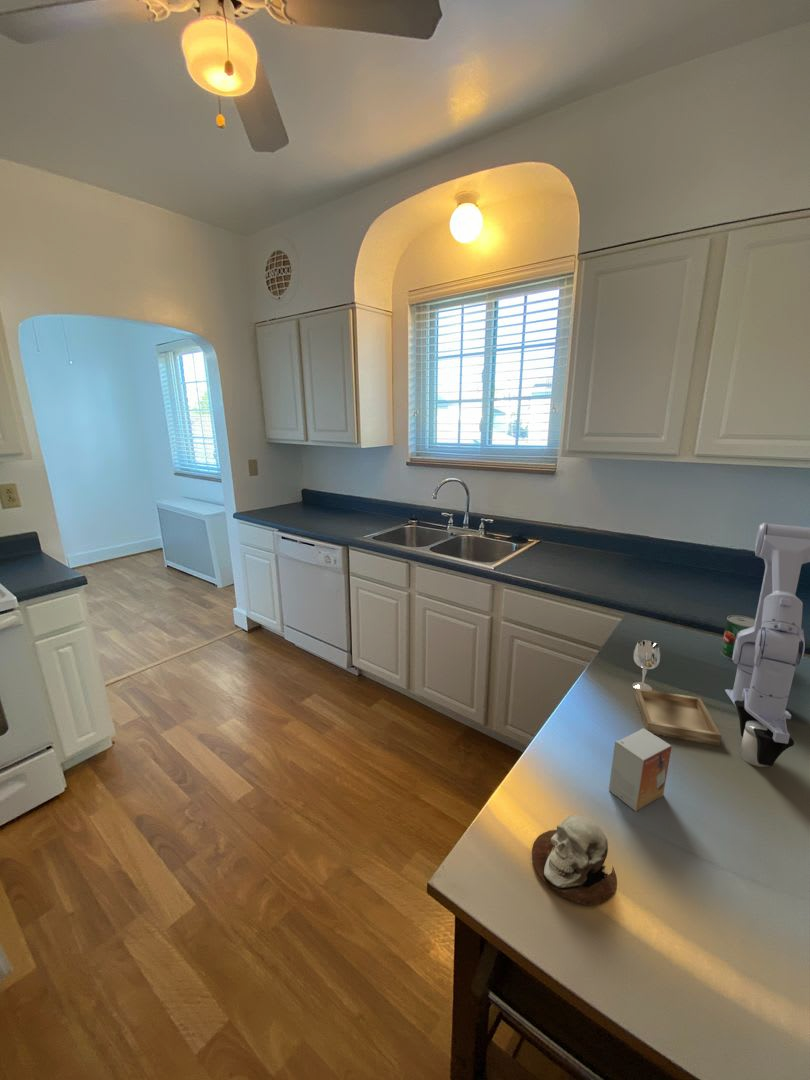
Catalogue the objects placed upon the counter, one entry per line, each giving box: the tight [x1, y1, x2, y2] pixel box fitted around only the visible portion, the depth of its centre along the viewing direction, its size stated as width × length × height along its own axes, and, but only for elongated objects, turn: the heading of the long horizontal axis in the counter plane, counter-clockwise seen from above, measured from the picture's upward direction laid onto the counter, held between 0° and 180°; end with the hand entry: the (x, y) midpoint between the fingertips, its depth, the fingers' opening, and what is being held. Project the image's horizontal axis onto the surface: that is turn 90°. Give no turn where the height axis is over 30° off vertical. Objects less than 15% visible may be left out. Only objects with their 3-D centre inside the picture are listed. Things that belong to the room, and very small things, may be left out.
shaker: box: [739, 721, 768, 768], centre depth 87 cm, size 5×5×7 cm
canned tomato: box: [720, 614, 756, 661], centre depth 126 cm, size 8×8×11 cm
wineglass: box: [631, 639, 661, 691], centre depth 111 cm, size 6×6×12 cm
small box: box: [608, 727, 672, 812], centre depth 79 cm, size 8×6×10 cm
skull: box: [531, 814, 618, 906], centre depth 67 cm, size 12×10×10 cm
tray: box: [634, 688, 722, 746], centre depth 99 cm, size 14×14×2 cm
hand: (755, 750), depth 88 cm, fingers open, 7 cm apart
